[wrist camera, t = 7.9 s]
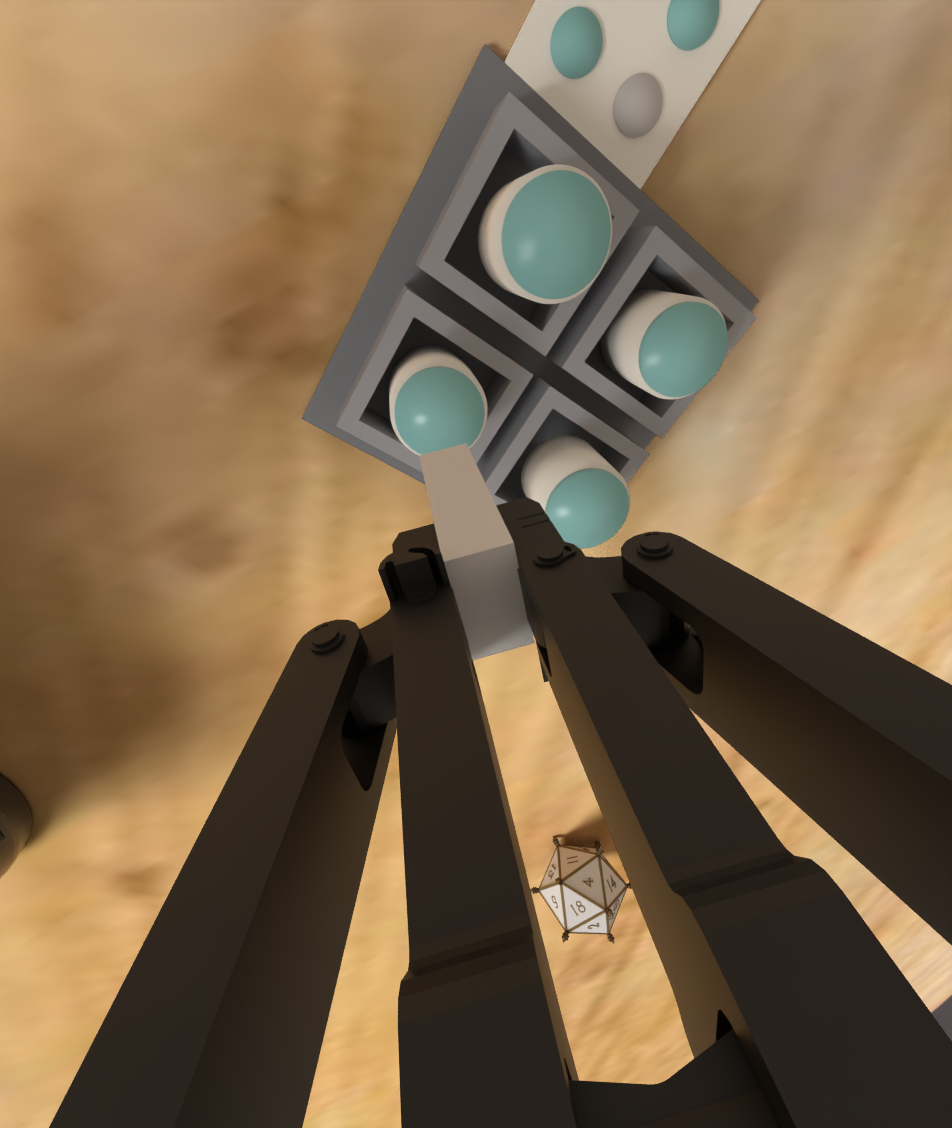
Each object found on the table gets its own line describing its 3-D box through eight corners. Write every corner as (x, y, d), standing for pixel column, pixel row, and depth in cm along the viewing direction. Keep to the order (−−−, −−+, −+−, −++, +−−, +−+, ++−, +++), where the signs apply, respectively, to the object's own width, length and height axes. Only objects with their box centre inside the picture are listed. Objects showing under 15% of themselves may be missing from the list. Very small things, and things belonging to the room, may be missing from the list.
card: (502, 64, 23) (505, 61, 23) (621, -171, 20) (627, -182, 20) (637, 190, 26) (642, 189, 26) (756, 1, 23) (765, -4, 23)
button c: (458, 256, 24) (474, 259, 20) (515, 151, 22) (545, 131, 18) (537, 314, 25) (567, 328, 21) (595, 221, 24) (640, 217, 20)
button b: (505, 488, 30) (524, 528, 25) (552, 419, 28) (581, 449, 24) (566, 523, 31) (594, 565, 27) (614, 460, 30) (651, 494, 26)
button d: (373, 405, 28) (372, 432, 24) (415, 326, 26) (421, 342, 22) (445, 446, 30) (456, 478, 26) (489, 375, 28) (507, 397, 24)
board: (302, 416, 29) (293, 437, 26) (483, 46, 23) (499, 16, 20) (560, 553, 36) (576, 582, 33) (754, 300, 30) (797, 306, 26)
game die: (559, 802, 56) (614, 838, 47) (609, 857, 57) (672, 903, 48) (501, 873, 53) (546, 927, 44) (555, 930, 55) (610, 994, 45)
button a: (583, 350, 28) (618, 369, 24) (638, 269, 27) (684, 274, 23) (643, 394, 30) (685, 418, 26) (698, 321, 28) (751, 334, 24)
